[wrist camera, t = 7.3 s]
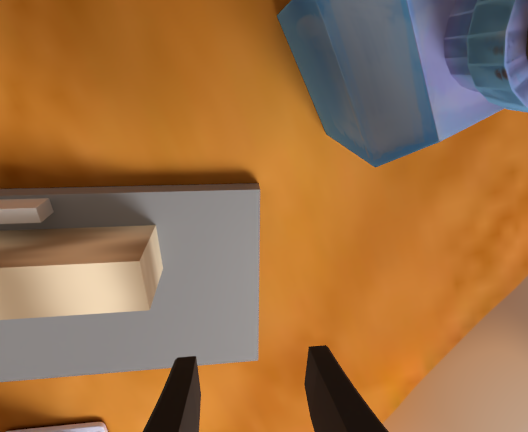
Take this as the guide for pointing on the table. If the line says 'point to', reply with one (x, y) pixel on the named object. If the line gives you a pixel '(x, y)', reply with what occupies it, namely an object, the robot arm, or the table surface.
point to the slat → (78, 271)
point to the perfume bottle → (408, 67)
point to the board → (169, 287)
